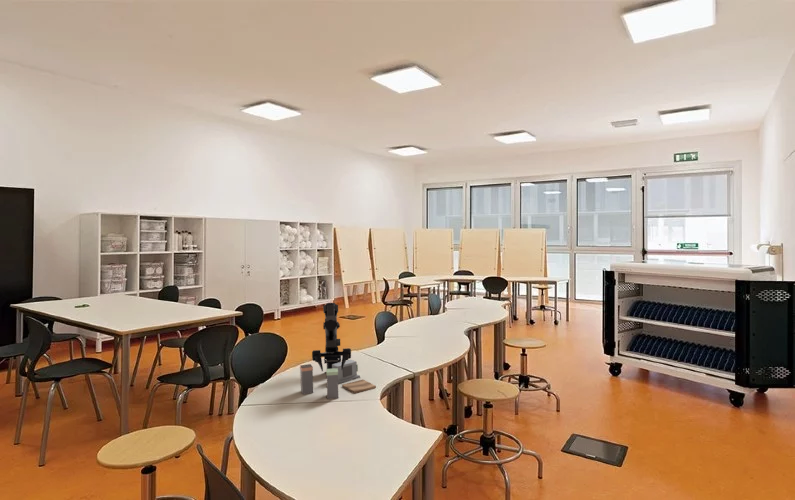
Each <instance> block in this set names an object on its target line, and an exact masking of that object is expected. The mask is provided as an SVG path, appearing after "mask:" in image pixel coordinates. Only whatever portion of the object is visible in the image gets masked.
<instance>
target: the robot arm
mask: <svg viewBox="0 0 795 500" xmlns="http://www.w3.org/2000/svg"><path fill="white" fill-rule="evenodd" d="M322 308H323V311H322V312H323V314H324V321H323V325H322V326H323V330H324V334H325V335H324V336H325V347H324V348H325V349H324V352H321V349H317V350H316V349H315V350H312V351H311V357H312V361H313V362H315V363H317V364H318V365H319V368H320V370H321V372H324V373H325V374H326V375H327V373H326V371H324V367H323V362H324V364H325V365H326V370H327V369H332V364H336V363H339V362H342V365H341V370H342V369H343V366H344V364H345V362H346V361H347V360H351V359H352V349H351V348H348V347H345V348H342V351H339V347H340V346H341V338H338V335H337V334H338V329H339V328H340V327H341V326H340V324H341V323H339V321H338V313H339V304H336V303H335V302H327V303H325V305H323V307H322ZM322 359H323V360H322Z"/></svg>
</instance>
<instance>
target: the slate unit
mask: <svg viewBox="0 0 795 500" xmlns="http://www.w3.org/2000/svg"><path fill="white" fill-rule="evenodd" d="M341 365H342V361H341V362H339V363H336V364H332V368H338V385H340V384H345V383H346V382H347V383H348V382H350V381H355V380H357V379H359V378H361V375H359V374H358V372H359V364H357V361H356V360H354V359H348V360H346V362H345V364H344V366H343V369H342V370H341Z"/></svg>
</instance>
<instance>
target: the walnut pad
mask: <svg viewBox="0 0 795 500" xmlns="http://www.w3.org/2000/svg"><path fill="white" fill-rule="evenodd" d="M341 387H342V388H344V389H346V390H348V391H349V392H351V393H353V394H359V393H362V392H366V391H369V390H370V391H371V390H373V389H376V388H377V386H376V385H374V384H373V383H371V382H369V381H368V380H365V379H359V380H356V381H355V380H354V381H352V382H347V383H342V385H341Z"/></svg>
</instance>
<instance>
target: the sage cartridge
mask: <svg viewBox="0 0 795 500" xmlns="http://www.w3.org/2000/svg"><path fill="white" fill-rule="evenodd" d="M325 372H326V373H327V374H326V373H325V374H326V390H327V391H326V392H327V393H326V394H327V400H332V399H333V400H334V399H339V384H338V368H332V369H327V368H326V371H325Z"/></svg>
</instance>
